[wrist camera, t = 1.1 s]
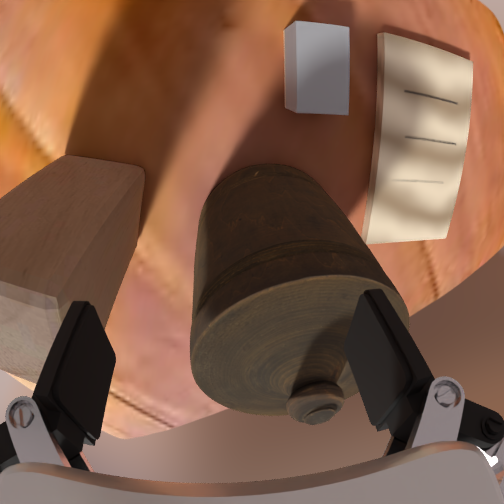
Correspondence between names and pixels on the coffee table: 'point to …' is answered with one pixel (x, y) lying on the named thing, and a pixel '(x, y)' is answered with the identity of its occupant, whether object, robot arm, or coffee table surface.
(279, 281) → the wooden container
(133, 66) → the coffee table surface
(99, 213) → the wooden block
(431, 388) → the robot arm
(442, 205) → the board
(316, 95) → the block
